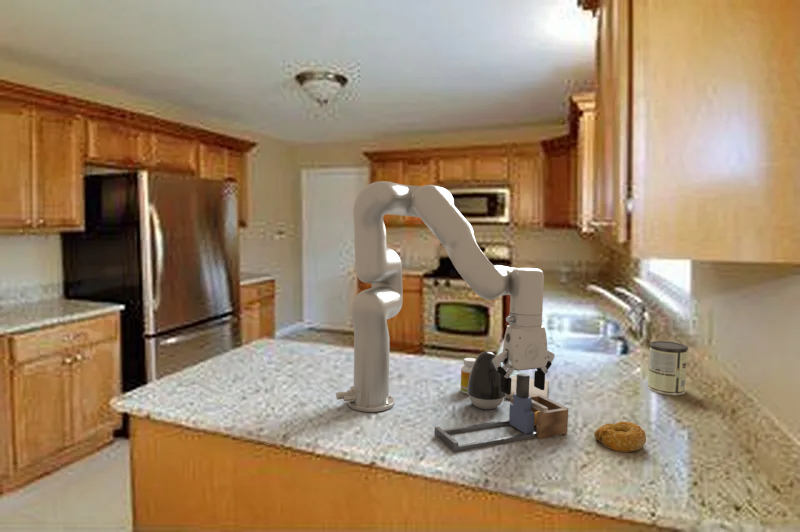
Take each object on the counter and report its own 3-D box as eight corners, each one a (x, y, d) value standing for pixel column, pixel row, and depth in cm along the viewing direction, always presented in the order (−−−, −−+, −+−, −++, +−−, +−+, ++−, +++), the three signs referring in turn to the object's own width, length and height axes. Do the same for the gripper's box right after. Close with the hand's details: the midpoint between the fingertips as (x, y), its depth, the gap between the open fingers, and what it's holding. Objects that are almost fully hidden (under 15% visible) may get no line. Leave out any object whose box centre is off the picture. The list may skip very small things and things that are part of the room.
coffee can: (646, 382, 162) (649, 339, 161) (683, 387, 158) (686, 343, 157) (647, 392, 153) (650, 346, 152) (686, 397, 149) (689, 350, 148)
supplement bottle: (478, 395, 147) (479, 362, 146) (459, 393, 148) (460, 361, 147) (479, 389, 152) (480, 357, 152) (461, 388, 154) (462, 356, 153)
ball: (549, 431, 124) (536, 428, 122) (538, 425, 127) (526, 422, 126) (554, 416, 124) (542, 412, 122) (543, 410, 127) (531, 406, 126)
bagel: (603, 431, 124) (604, 412, 123) (651, 445, 116) (652, 425, 116) (586, 443, 116) (587, 423, 116) (637, 459, 109) (638, 437, 109)
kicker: (524, 434, 119) (527, 380, 118) (507, 423, 125) (509, 372, 124) (535, 433, 120) (537, 379, 119) (517, 422, 126) (519, 370, 125)
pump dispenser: (497, 416, 132) (499, 358, 130) (460, 407, 137) (462, 352, 136) (510, 404, 140) (513, 350, 139) (475, 397, 146) (477, 345, 144)
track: (454, 452, 110) (454, 443, 110) (434, 435, 119) (434, 426, 119) (536, 437, 119) (537, 429, 119) (512, 422, 127) (513, 414, 127)
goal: (539, 439, 118) (540, 408, 117) (510, 421, 128) (511, 393, 128) (568, 433, 121) (570, 404, 121) (538, 416, 132) (539, 389, 131)
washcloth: (548, 387, 158) (549, 377, 158) (548, 406, 141) (549, 395, 141) (509, 382, 161) (510, 373, 161) (504, 401, 144) (505, 390, 144)
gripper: (504, 325, 114) (501, 400, 115) (565, 321, 120) (562, 391, 122) (485, 319, 120) (483, 389, 122) (544, 315, 127) (541, 382, 129)
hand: (522, 390), depth 122 cm, fingers open, 9 cm apart
